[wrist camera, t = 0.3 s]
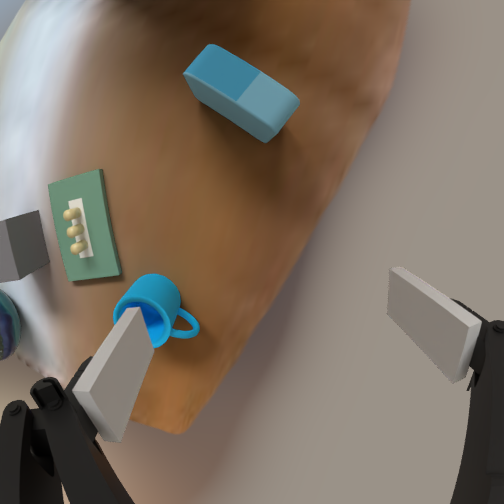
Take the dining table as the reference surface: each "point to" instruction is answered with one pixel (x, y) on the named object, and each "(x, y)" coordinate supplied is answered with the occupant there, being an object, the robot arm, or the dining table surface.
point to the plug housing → (21, 246)
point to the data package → (240, 92)
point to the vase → (8, 327)
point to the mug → (157, 308)
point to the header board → (84, 226)
